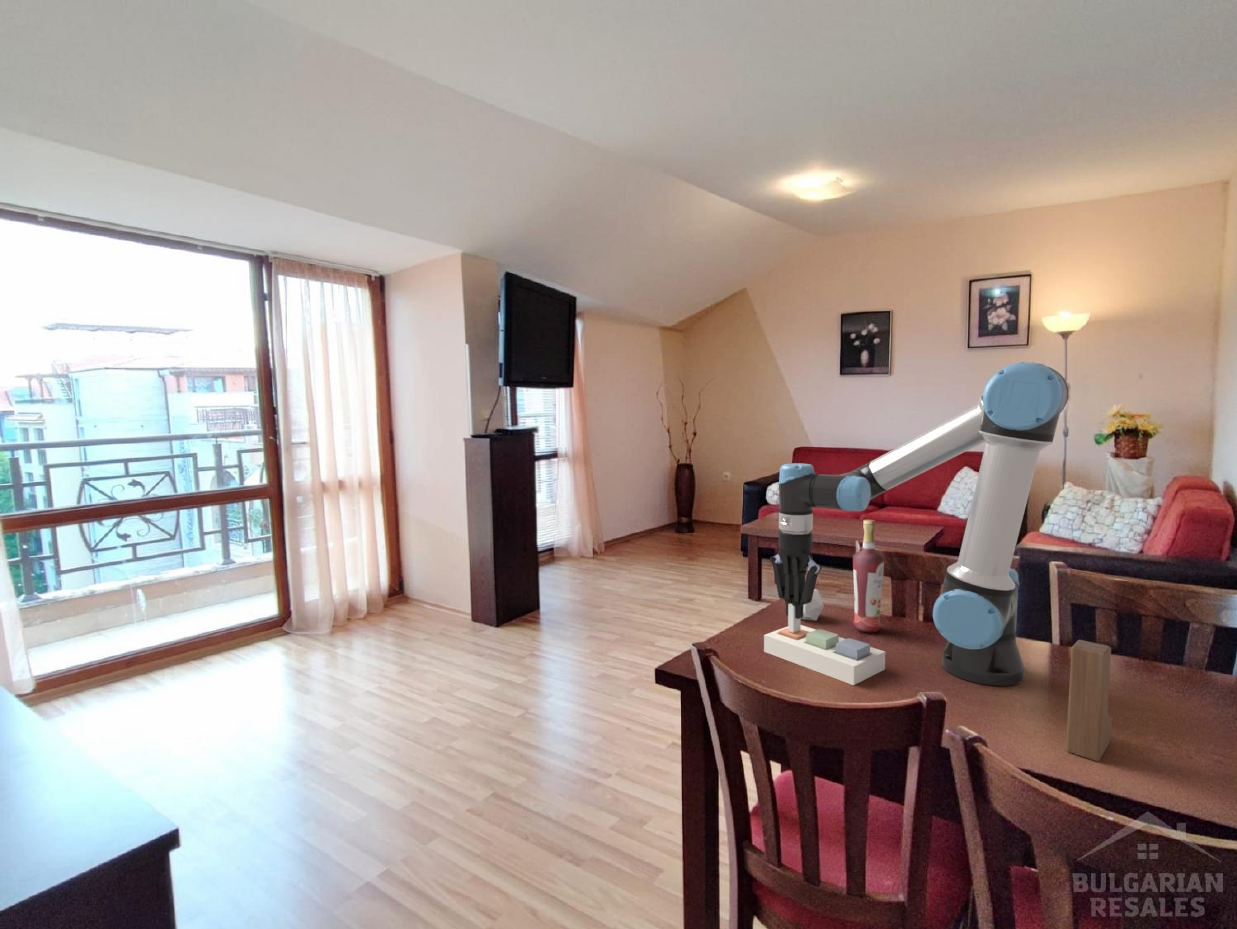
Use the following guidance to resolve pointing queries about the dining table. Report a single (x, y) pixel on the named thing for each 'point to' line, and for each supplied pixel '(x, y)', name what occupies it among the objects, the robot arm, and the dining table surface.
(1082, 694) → the wooden block
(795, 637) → the terracotta button
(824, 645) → the sage button
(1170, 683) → the dining table surface
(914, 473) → the robot arm
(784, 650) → the control panel
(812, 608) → the die
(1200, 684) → the dining table surface
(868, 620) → the liquor
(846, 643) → the slate button
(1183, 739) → the dining table surface
